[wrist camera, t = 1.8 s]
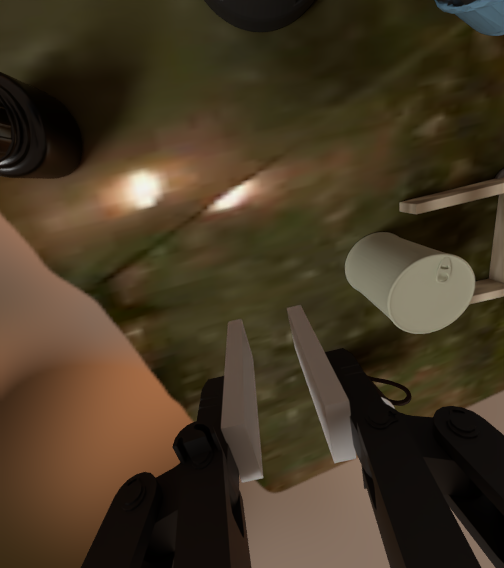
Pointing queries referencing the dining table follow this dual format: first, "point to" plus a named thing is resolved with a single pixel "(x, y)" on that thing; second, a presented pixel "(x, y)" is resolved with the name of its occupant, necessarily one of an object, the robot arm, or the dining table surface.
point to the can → (410, 281)
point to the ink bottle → (35, 133)
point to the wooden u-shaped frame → (500, 275)
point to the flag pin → (500, 174)
